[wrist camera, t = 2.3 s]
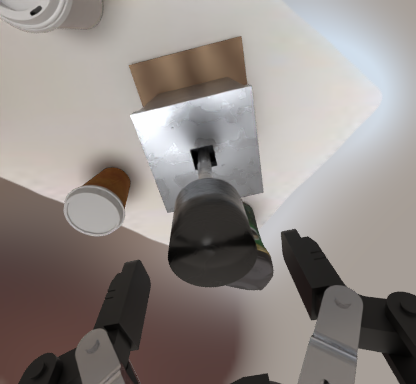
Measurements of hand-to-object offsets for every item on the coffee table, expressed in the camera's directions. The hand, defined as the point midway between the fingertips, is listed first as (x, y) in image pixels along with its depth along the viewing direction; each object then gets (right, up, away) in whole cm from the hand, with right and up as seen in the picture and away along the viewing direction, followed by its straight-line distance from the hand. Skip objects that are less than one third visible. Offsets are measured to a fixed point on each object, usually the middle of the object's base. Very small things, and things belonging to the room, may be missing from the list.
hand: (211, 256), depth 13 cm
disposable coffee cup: (-19, +6, +34) cm, 40 cm away
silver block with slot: (-1, +15, +29) cm, 32 cm away
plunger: (-1, +10, +17) cm, 20 cm away
